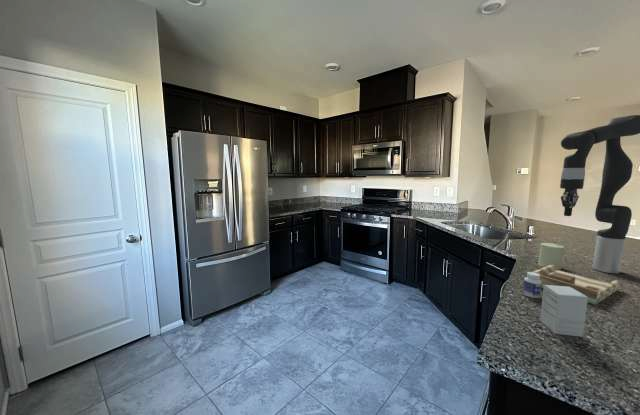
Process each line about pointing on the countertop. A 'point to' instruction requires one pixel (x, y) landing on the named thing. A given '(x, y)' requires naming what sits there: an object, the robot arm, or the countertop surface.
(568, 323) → the supplement box
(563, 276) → the block
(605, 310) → the countertop surface
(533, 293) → the pill bottle
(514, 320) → the countertop surface
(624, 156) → the robot arm
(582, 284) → the board
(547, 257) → the can
